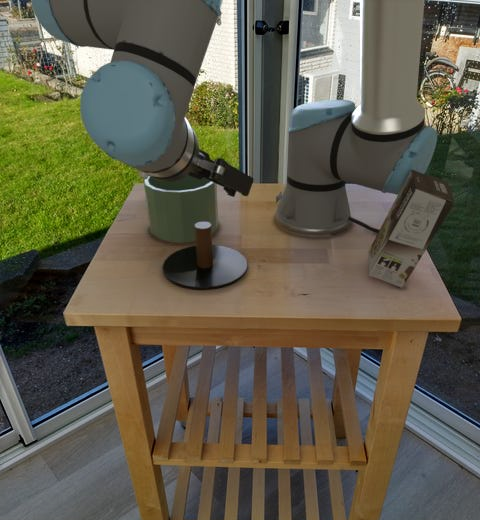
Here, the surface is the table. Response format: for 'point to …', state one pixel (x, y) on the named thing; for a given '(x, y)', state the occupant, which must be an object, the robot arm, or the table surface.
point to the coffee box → (409, 227)
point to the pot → (180, 207)
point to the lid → (204, 263)
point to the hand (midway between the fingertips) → (190, 169)
